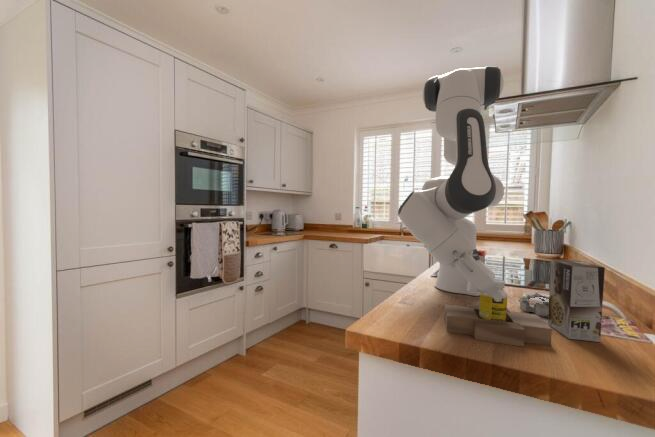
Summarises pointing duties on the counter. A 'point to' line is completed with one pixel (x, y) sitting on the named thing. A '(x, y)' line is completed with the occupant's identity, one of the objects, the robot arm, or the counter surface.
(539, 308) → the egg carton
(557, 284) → the coffee box
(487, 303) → the supplement bottle
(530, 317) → the walnut cross stand
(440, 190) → the robot arm
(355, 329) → the counter surface
